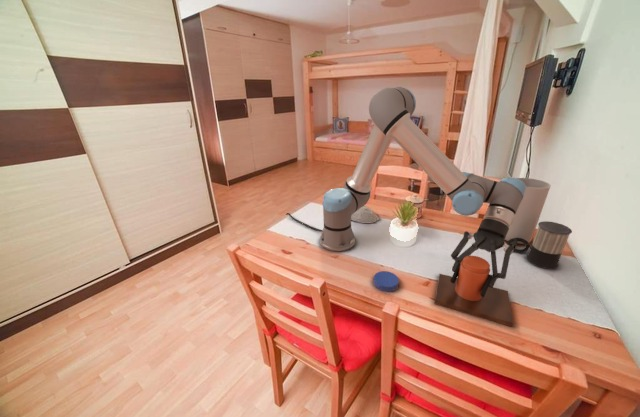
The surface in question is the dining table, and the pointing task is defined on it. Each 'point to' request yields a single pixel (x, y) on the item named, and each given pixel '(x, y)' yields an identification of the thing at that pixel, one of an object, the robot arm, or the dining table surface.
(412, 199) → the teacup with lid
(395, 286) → the jar lid
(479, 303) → the board
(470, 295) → the jar
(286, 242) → the dining table surface
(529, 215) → the cylinder vase
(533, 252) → the milk frother
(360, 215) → the grey speckled mound
